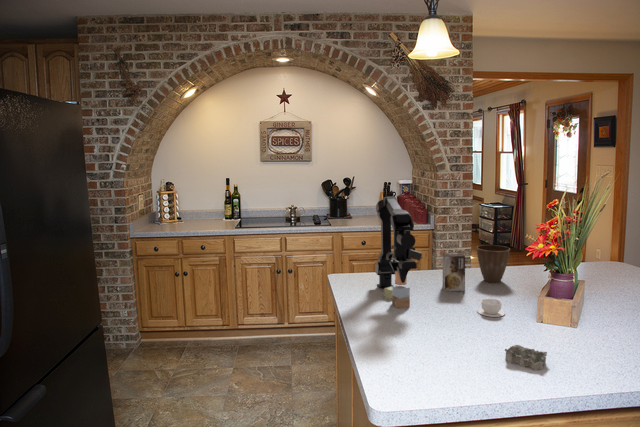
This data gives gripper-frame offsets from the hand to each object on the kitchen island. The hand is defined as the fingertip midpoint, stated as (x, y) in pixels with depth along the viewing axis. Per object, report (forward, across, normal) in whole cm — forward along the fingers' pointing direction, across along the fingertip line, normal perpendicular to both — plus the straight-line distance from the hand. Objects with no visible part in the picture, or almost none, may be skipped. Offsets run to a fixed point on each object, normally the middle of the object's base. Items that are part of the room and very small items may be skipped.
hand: (400, 281), depth 186 cm
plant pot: (+10, +21, -55) cm, 60 cm away
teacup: (+11, -18, -30) cm, 36 cm away
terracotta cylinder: (+1, 0, 0) cm, 1 cm away
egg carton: (+10, -57, -16) cm, 60 cm away
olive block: (+10, +11, 0) cm, 15 cm away
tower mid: (+6, 0, 0) cm, 6 cm away
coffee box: (+10, +14, -31) cm, 36 cm away
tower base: (+10, 0, 0) cm, 10 cm away
